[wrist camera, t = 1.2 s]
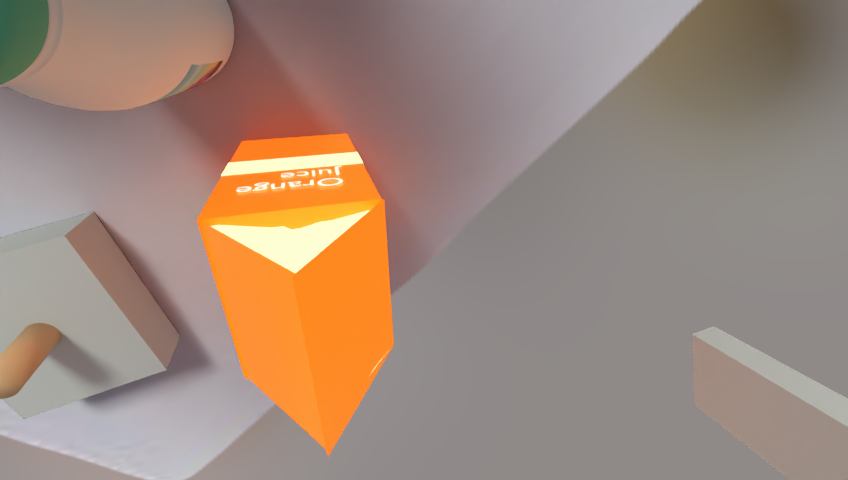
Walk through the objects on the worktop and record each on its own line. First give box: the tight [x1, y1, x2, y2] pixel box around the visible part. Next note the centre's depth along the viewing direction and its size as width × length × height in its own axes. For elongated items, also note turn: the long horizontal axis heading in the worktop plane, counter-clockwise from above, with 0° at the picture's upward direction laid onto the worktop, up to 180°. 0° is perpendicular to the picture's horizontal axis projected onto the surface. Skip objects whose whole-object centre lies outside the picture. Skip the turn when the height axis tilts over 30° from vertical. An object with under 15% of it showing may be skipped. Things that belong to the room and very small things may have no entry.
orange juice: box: [197, 134, 394, 456], centre depth 22 cm, size 8×9×20 cm
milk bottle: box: [0, 0, 234, 111], centre depth 15 cm, size 8×8×20 cm
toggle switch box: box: [0, 212, 180, 419], centre depth 26 cm, size 12×10×8 cm
